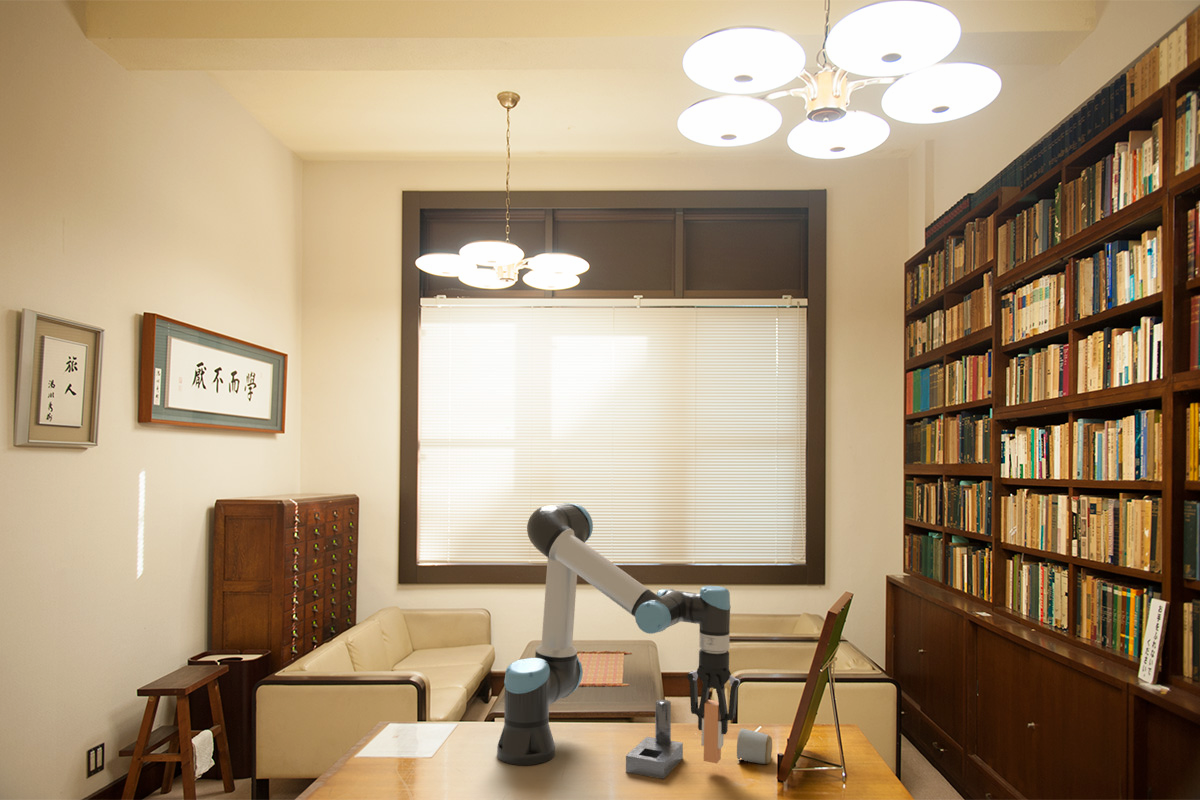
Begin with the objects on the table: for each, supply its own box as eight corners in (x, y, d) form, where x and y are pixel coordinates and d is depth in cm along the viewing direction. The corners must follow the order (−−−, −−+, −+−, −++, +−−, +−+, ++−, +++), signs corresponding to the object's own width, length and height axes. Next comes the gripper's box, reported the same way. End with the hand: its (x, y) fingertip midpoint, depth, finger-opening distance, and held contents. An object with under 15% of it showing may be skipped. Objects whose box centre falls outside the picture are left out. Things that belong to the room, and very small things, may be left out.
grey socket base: (625, 772, 196) (626, 714, 197) (647, 751, 210) (648, 697, 211) (663, 779, 192) (663, 720, 193) (683, 757, 206) (683, 702, 207)
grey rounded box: (768, 769, 199) (768, 737, 200) (736, 764, 202) (736, 733, 202) (774, 754, 209) (774, 725, 209) (743, 750, 212) (743, 720, 212)
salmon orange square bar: (703, 760, 196) (704, 703, 197) (707, 756, 199) (708, 699, 200) (716, 763, 195) (717, 705, 195) (720, 758, 198) (721, 701, 198)
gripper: (678, 648, 198) (676, 744, 197) (742, 657, 191) (741, 756, 190) (687, 642, 205) (685, 734, 204) (750, 650, 198) (748, 746, 197)
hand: (712, 744), depth 197 cm, fingers closed on salmon orange square bar, 3 cm apart
